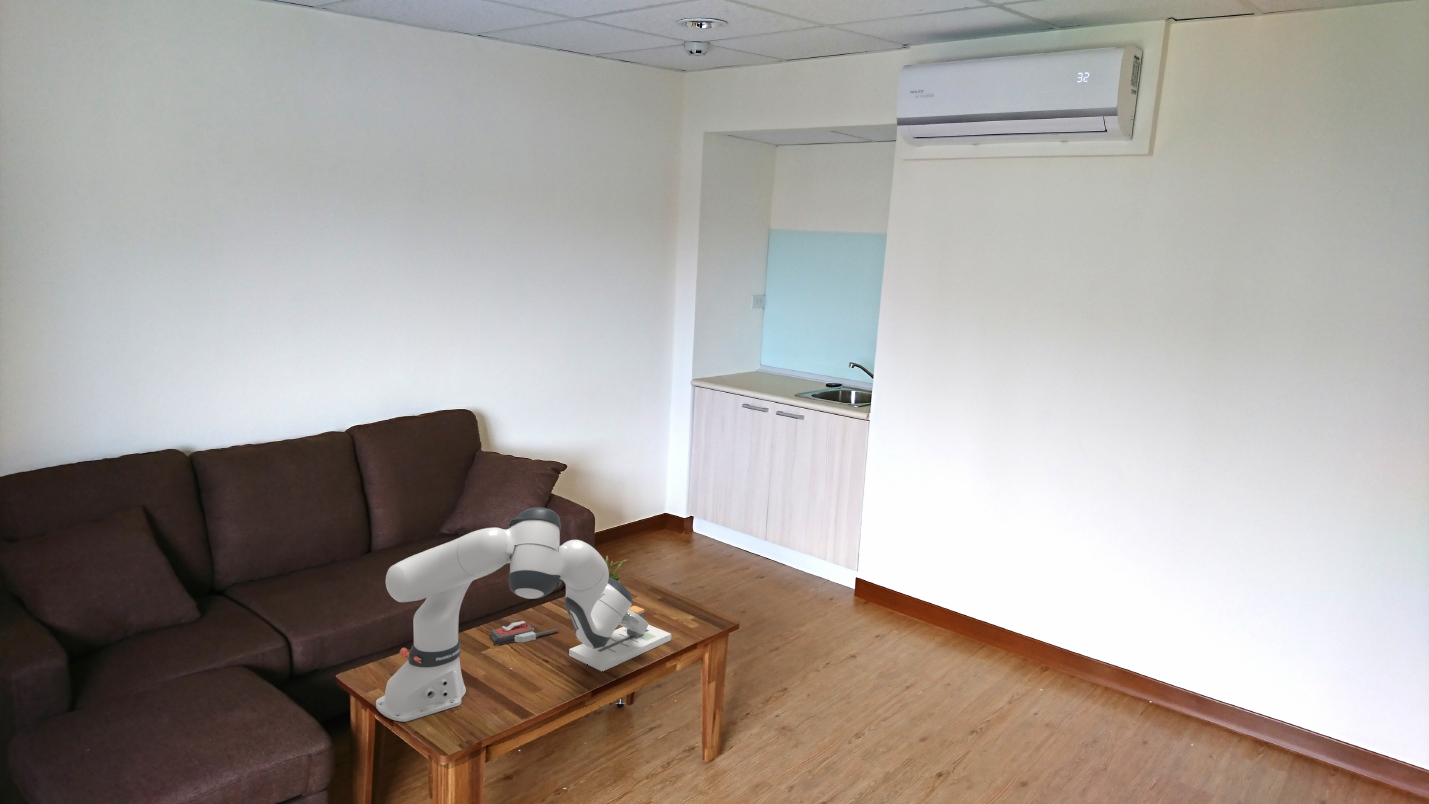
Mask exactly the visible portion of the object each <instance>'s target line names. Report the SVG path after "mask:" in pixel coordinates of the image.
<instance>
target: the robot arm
mask: <svg viewBox="0 0 1429 804" xmlns="http://www.w3.org/2000/svg"><path fill="white" fill-rule="evenodd" d="M508 527H509V528H507V529H503V528H500V527H485V528H481V529H477V530H474V531H471V532H469V533H467V534H464V535H462V536H460V537H458V538H456V539H453V540H451V541H448V542H445V543H443V544H440V545H437V546H435V547H432V548H429V549H426V550H424V551H422V552H419V553H416V554H413V555H411V556H409V557H407V558H405V559H403V560H400V561H397V562H396V563H395V564H393V565H391V566H390V567H389V568H388V570H387V572H386V575H385V587H386V590H387V593H388V594H389V595H390V597H391V598H393V599H394V601H396V602H398V603H410V602H415V601H421V600H424V599H425V601H424V602H423V603H422V604H421V605H420V606H419V608H418V609H417V610H416V611H415V613H414V615H413V620H412V621H413V622H412V623H413V624H412V625H413V628H412V629H413V643H412V646H411V649H410V650H409V649H407V648H406V647H402V648H401V649H400V650H399V655H400V656H402V657H404V658H407V660H406V661H405V662H404V664H403V665H402V666H400V668H398V670H397V671H396V672H395V673H394V674H392V676H391V677H390V678H389V679H388V680H387V683H386V685H385V691H384V695H382V696H380V697H379V698H377V699H376V700H375V701H376V702H375V708H376V710H377V711H378V712H379V713H380V714H382V715H383V716H384V717H386V718H388V719H390V720H393V721H396V722H397V721H398V722H404V723H406V722H410V721H412V720H416V719H419V718H423V717H425V716H426V717H427V716H429V715H432V714H436V713H439V712H441V711H445V710H449V709H452V708H455V707H458V706H461V704H462V698H463V697H464V696H465V694H466V691H467V687H466V686H465V683H464V682H465V681H464V678H463V675H462V670H461V669H462V668H461V663H460V662H461V661H460V657H461V640H460V638H459V620H460V619H459V616H460V615H459V614H460V611H461V610H460V609H461V606H462V603H463V600H464V597H465V594H466V593H467V590H468V588H469V586H470V585H471V584H472V582H473V581H475V580H477V579H481V578H483V577H486V576H489V575H491V574H493V573H494V572H496V571H498V570H500V569H501V568H502V567H504V565H507V564H509V574H508V587H509V590H510V591H511V592H512V593H513V594H514V595H516V596H518V597H521V598H525V599H531V600H532V599H540V598H544V597H546V596H548V595H549V594H551V593H552V592H553V591H554V590H556V588H559V587H560V586H562V583H563V582H564V584H565V597H564V606H565V609H566V611H567V613H568V617H569V618H570V620H571V621H570V622H571V623H572V625H573V630H574V635H575V636H576V638H577V640H578V641H580V643H581V644H584V645H586V646H588V647H590V648H593V649H596V648H600V647H603V646H605V645H606V644H607V642H608V640H609V639H610V636H611V635H612V633H613V632H614V630H617V627H618V626H621V627H625V628H627V629H629V630H631V631H635V632H637V633H640V634H643V633H644V632H645V630H646V629H647V627H648V624H649V623H648V622H647V620H645V618H644V619H643V618H641V617H640V616H639V615H638V614H636V613H634V612H633V611H630V610H629V608H630V607H632V606H633V596H632V594H631V593H632V592H631V591H629V590H628V588H626V586H624V585H623V584H622V583H621V581H620V582H618V581H619V580H618V581H617V580H615V579H613V578H609V571H610V570H609V565H608V566H607V564H606V562H605V561H606V560H605V559H604V558H603V556H602V555H601V554H600V552H598V550H596V549H595V548H594V547H593V546H592V545H591V544H589V543H587V542H585V541H583V540H580V539H571V540H567V541H566V542H564V543H563V544H561V545H560V543H561V542H560V541H561V539H560V538H561V536H560V534H561V533H560V532H561V530H562V524H561V519H560V516H559V514H558V513H557V512H555V511H554V510H553V509H550V508H546V507H542V506H541V507H540V506H538V507H537V506H536V507H534V506H533V507H528V508H527V509H526V510H524V511H522V512H520V513H519V514H518V515H517V516H516V517H512V518H511V519H510V521H508Z"/></svg>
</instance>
